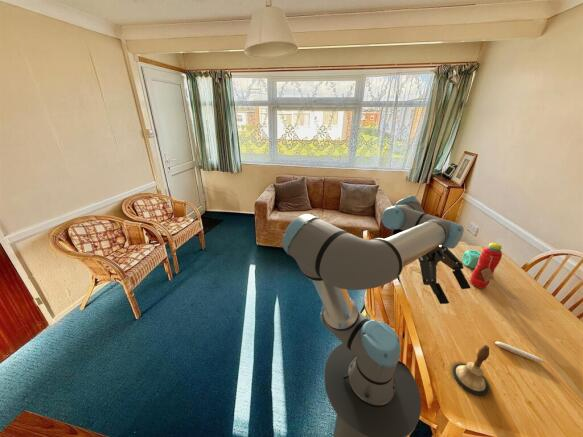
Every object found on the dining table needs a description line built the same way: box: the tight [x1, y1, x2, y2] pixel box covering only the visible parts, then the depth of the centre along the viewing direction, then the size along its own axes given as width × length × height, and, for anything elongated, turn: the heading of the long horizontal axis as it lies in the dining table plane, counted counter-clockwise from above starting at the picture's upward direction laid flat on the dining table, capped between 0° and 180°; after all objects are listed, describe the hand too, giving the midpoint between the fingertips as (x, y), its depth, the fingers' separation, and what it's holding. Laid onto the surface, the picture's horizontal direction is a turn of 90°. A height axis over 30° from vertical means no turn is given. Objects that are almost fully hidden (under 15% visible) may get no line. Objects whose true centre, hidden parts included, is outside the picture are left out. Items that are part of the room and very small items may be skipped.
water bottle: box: [469, 242, 503, 289], centre depth 113 cm, size 12×8×25 cm, turn 142°
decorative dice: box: [461, 249, 482, 270], centre depth 133 cm, size 8×8×8 cm
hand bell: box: [456, 344, 490, 391], centre depth 74 cm, size 8×8×16 cm
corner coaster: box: [452, 363, 490, 397], centre depth 78 cm, size 10×10×1 cm
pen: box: [494, 341, 546, 363], centre depth 86 cm, size 2×14×2 cm, turn 55°
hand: (456, 295), depth 76 cm, fingers open, 13 cm apart
